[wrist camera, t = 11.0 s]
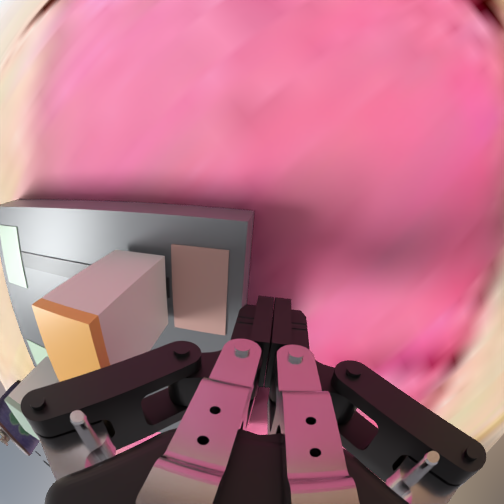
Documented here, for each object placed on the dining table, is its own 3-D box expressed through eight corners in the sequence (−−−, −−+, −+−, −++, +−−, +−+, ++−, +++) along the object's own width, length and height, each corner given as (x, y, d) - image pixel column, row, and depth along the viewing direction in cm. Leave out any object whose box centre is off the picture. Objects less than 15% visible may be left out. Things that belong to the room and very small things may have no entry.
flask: (56, 423, 30) (26, 465, 19) (48, 421, 30) (19, 461, 20) (20, 379, 27) (-18, 419, 17) (14, 379, 28) (-21, 417, 18)
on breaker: (69, 366, 18) (26, 416, 12) (82, 397, 19) (47, 445, 13) (46, 356, 18) (4, 399, 12) (59, 387, 20) (24, 430, 13)
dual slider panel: (254, 210, 16) (247, 222, 13) (237, 422, 22) (232, 448, 19) (17, 199, 18) (-8, 206, 15) (56, 369, 24) (42, 384, 21)
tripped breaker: (164, 255, 14) (88, 324, 7) (168, 322, 15) (114, 406, 9) (115, 249, 14) (31, 304, 8) (123, 313, 15) (59, 382, 9)
